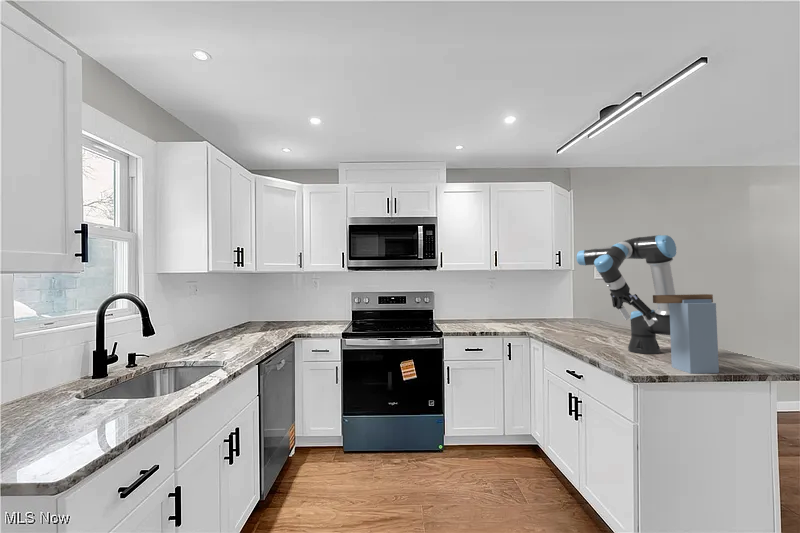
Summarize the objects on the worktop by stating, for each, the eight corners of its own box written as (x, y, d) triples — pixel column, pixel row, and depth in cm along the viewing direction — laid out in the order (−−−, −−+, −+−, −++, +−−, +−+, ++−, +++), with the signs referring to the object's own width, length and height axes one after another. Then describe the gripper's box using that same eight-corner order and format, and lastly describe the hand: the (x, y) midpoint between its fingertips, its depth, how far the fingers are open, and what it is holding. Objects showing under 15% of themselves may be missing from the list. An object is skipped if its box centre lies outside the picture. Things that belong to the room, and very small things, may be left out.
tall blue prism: (671, 367, 179) (669, 298, 180) (698, 366, 179) (695, 298, 180) (690, 373, 167) (687, 300, 168) (718, 373, 167) (715, 299, 168)
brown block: (652, 302, 176) (652, 295, 176) (706, 301, 176) (706, 294, 176) (657, 303, 173) (657, 295, 173) (712, 302, 172) (712, 294, 172)
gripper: (592, 287, 189) (613, 320, 192) (633, 294, 164) (656, 332, 168) (603, 277, 190) (624, 311, 193) (646, 283, 165) (668, 321, 169)
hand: (639, 321), depth 181 cm, fingers open, 13 cm apart
